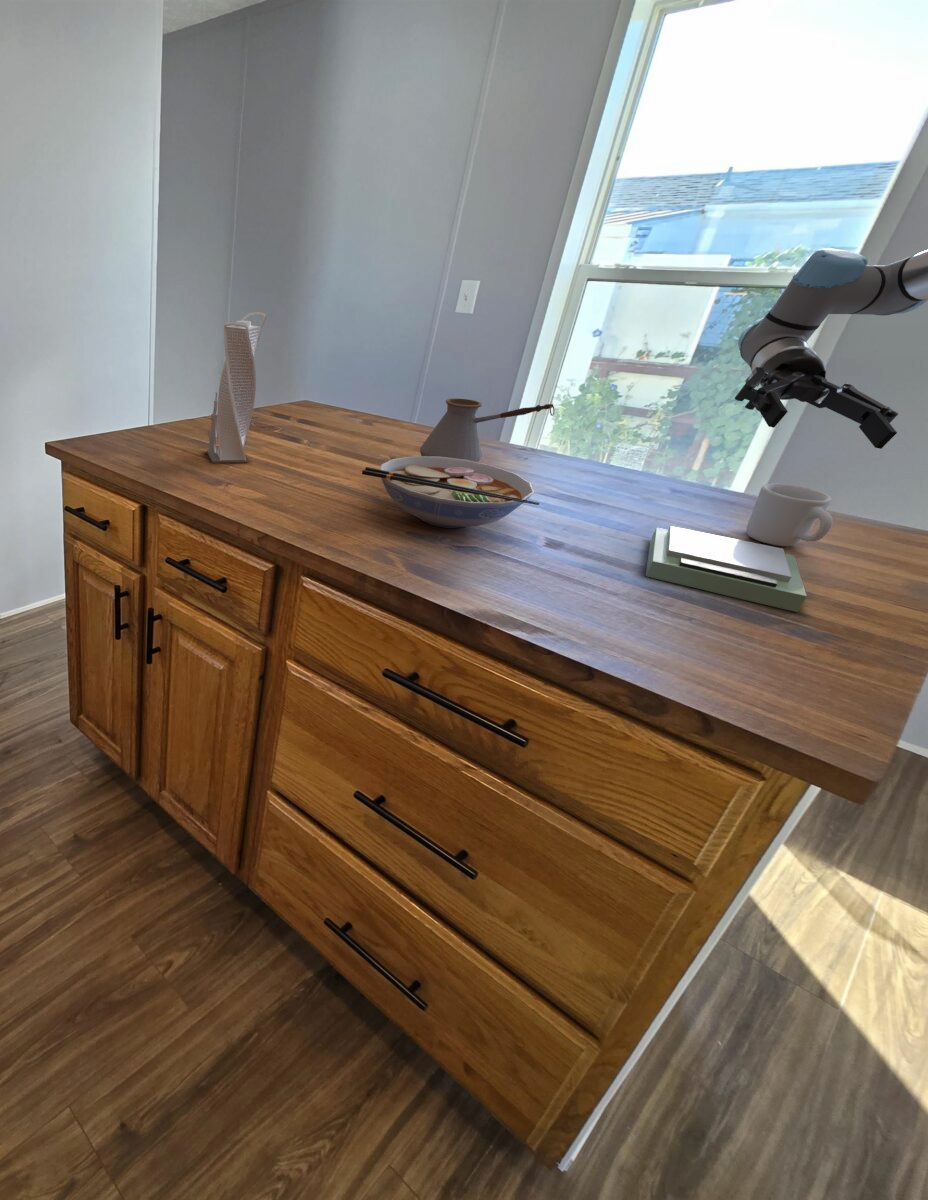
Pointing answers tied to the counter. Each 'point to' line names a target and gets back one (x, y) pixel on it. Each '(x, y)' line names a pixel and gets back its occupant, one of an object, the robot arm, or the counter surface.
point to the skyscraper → (235, 392)
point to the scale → (726, 567)
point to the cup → (788, 515)
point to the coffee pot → (464, 430)
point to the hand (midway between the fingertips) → (831, 429)
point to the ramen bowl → (452, 490)
